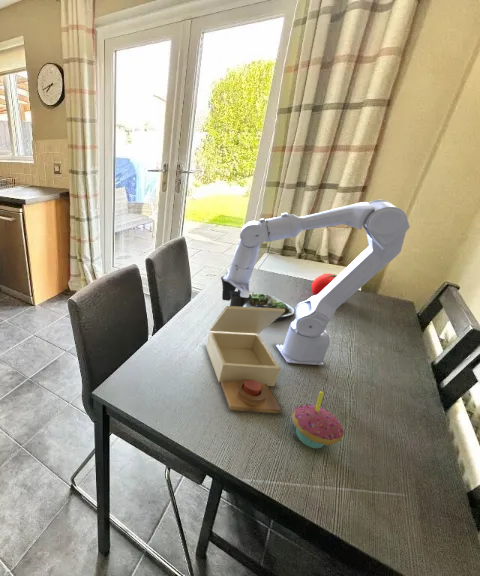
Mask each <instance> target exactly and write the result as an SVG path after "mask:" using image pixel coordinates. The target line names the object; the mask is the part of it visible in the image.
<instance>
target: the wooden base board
mask: <svg viewBox="0 0 480 576" xmlns="http://www.w3.org/2000/svg"><path fill="white" fill-rule="evenodd" d="M246 380H248V379H242V380H240V381H238V382H226V381H222V382H220V386H221V389H222V392H223V395H224V397H225V400H226V403H227V405H228V408H229V410H230V411H241V412H255V413H268V414H281V412H282V408H281V407H280V405H279V403H278V402H277V399H276V398H275V395H274V394H273V392H272V390H271V389H270V386H268V385H267V384H260V385H261V391H260V394H259V395H257V396H252V395H249V394H247V393H246V392H245V391H244V390H243V386H244V382H245V381H246Z"/></svg>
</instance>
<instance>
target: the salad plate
mask: <svg viewBox="0 0 480 576" xmlns="http://www.w3.org/2000/svg"><path fill="white" fill-rule="evenodd" d="M251 295H252V299H251V300H249V301H248V302H247V303H245V304H244V306H243V307H258V308H279V309H285V312H284V313H283V314H282V315H281V316H279V317H278V318H277V319H276V320H275V321H274V322H276V321H284V320H288V319H290V318H292V317H294V316H295V308H294V307H292V306H290V305H288V304H287V303H285V302H284V301H282V300H280V299H279V298H278V297H276V296H273V295H271V294H268V293H267V294H266V293H254V292H251Z"/></svg>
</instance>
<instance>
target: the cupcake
mask: <svg viewBox="0 0 480 576" xmlns="http://www.w3.org/2000/svg"><path fill="white" fill-rule="evenodd" d="M323 389H324V388H323V387H321V389H320V391H319V392H318V396H317V401H316V404H315V405H314V404H311V403H305V404H304V403H303V404H300V405H297V406H296V407H294V409H293V410H294V411H293V413H292V416H291V417H292V423H293V425H294V426H295V434H296V437H297V438H298V440H299V441H301V443H302V444H304V445H305V446H307V447H309V448H311V449H312V448H313V449H321V448H322V447H324V446H331V445H335V444H337V443H338V442H341V441H342V439H344V436H345V430H344V426H343V424H341V422H340V421H339V419H338V418H337V417H336V416H335V415H334V413H332V412H330V411H329V410H328V409H325V408H323V407H321V405H322V402H323V397H324V391H323Z"/></svg>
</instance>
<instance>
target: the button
mask: <svg viewBox="0 0 480 576" xmlns="http://www.w3.org/2000/svg"><path fill="white" fill-rule="evenodd" d="M243 390H244V391H245V392H246V393H247V394H249V395H252V396H257V395H259V394H260V391H261V385H260V384H259V383H258V382H257V381H255V380H251V379H248V380H246V381H245V382H244V386H243Z"/></svg>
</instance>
